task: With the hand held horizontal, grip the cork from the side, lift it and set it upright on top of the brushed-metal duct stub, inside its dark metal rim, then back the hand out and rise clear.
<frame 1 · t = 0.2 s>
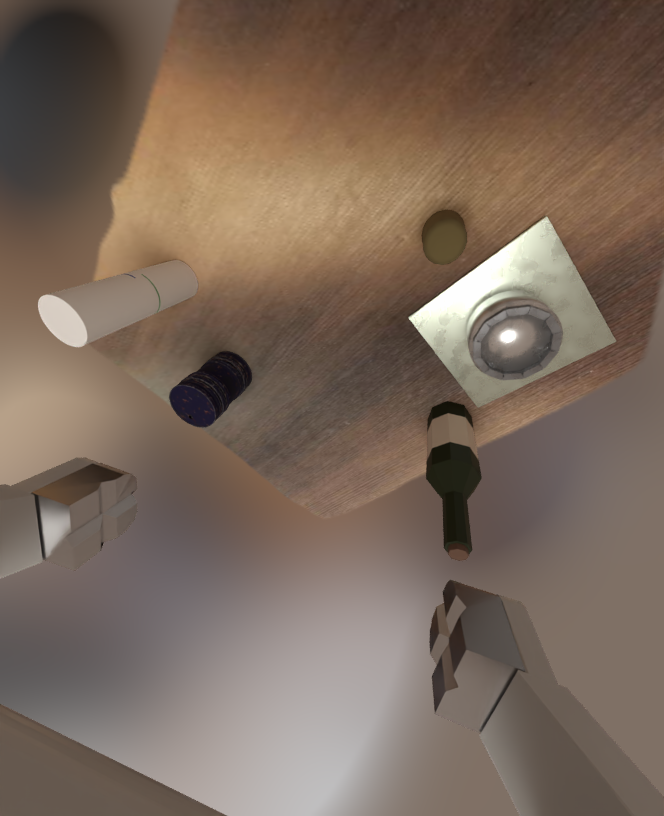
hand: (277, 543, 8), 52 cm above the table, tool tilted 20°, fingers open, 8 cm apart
cork: (442, 233, 47), on the table
wine bottle: (448, 417, 64), on the table
cylindrical container: (182, 279, 62), on the table
storage jar: (232, 370, 72), on the table
duct stub: (505, 326, 52), on the table
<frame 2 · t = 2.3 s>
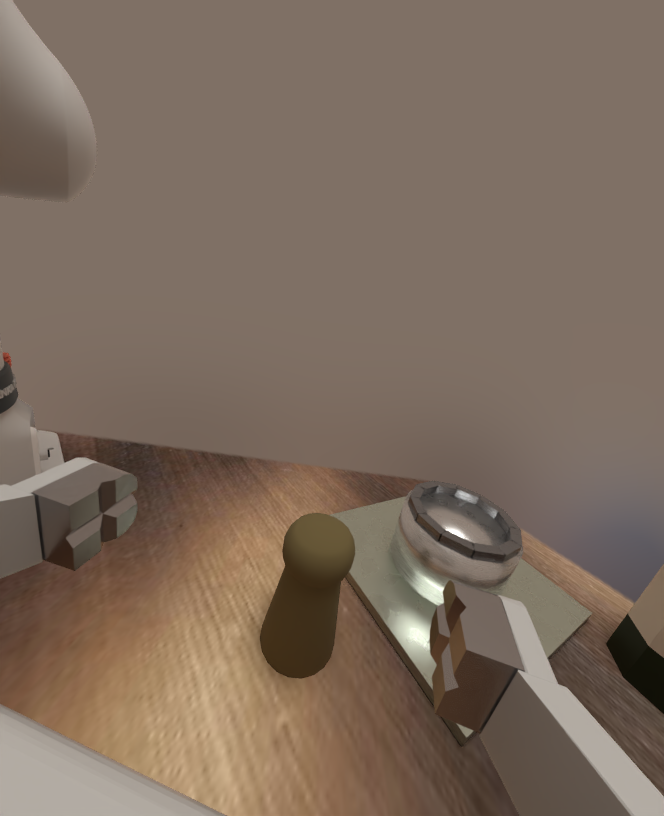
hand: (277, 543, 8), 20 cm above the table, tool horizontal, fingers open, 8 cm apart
cork: (297, 637, 26), on the table
wine bottle: (661, 680, 29), on the table
duct stub: (439, 569, 36), on the table
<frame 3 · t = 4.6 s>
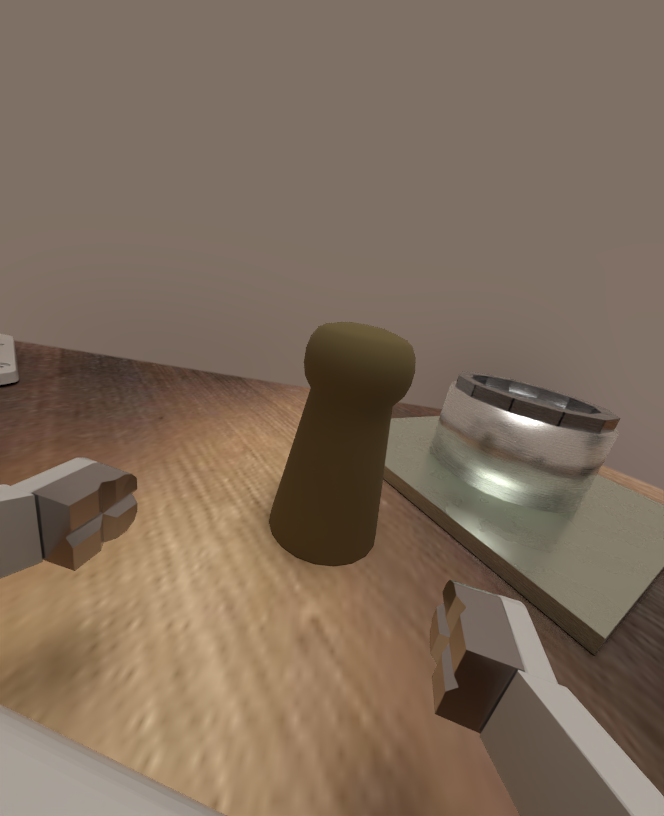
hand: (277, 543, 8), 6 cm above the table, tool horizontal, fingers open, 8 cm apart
cork: (322, 525, 18), on the table
duct stub: (495, 477, 28), on the table
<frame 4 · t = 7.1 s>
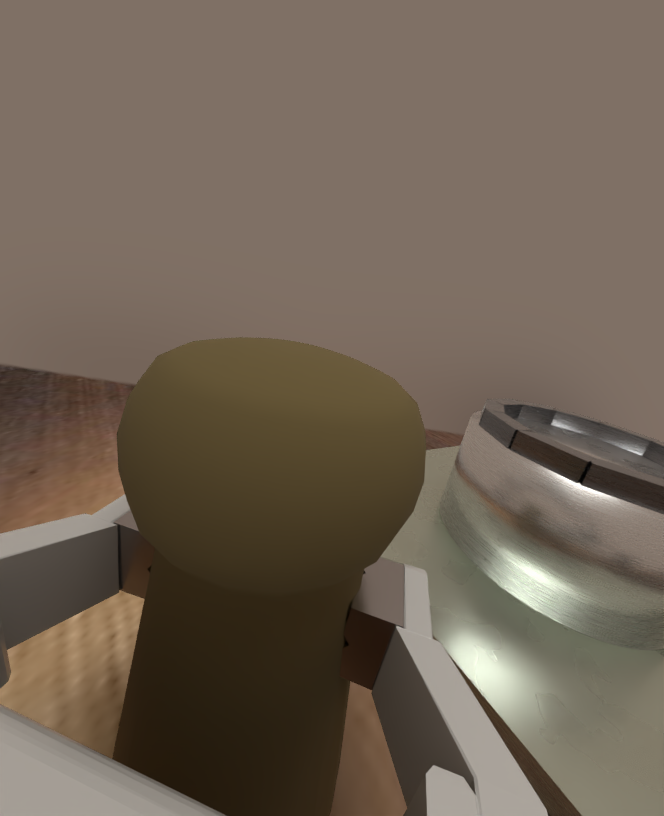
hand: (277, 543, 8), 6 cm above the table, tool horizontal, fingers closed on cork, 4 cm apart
cork: (234, 737, 9), on the table, touching gripper
duct stub: (535, 555, 19), on the table
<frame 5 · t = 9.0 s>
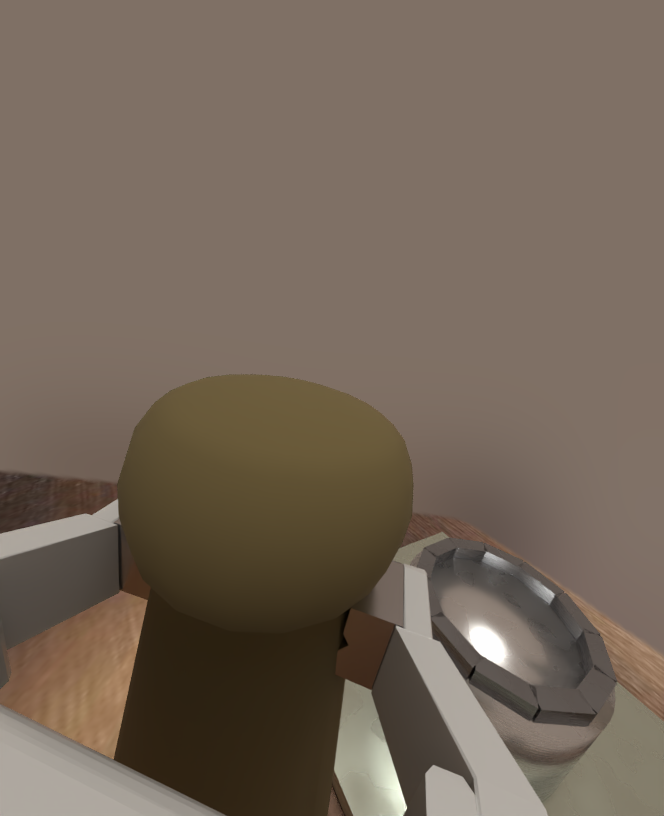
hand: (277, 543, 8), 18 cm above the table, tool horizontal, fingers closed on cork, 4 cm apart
cork: (230, 755, 9), point 11 cm above the table, touching gripper
duct stub: (462, 684, 22), on the table
when the fingers open (15 cm above the table, at t = 11.4 s): cork drops 1 cm, resting on duct stub.
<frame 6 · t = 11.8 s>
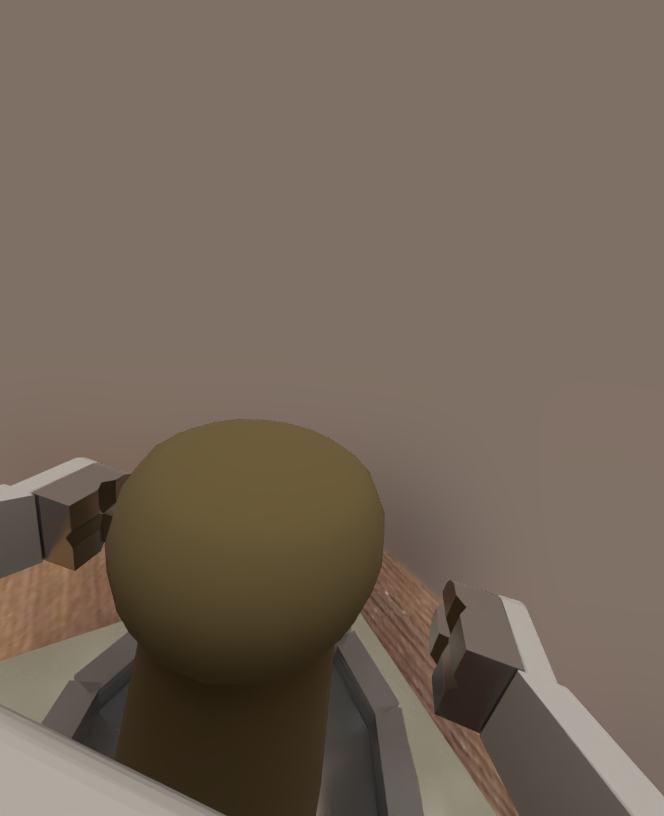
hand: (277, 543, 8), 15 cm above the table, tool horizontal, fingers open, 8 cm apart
cork: (222, 771, 10), point 7 cm above the table, touching duct stub
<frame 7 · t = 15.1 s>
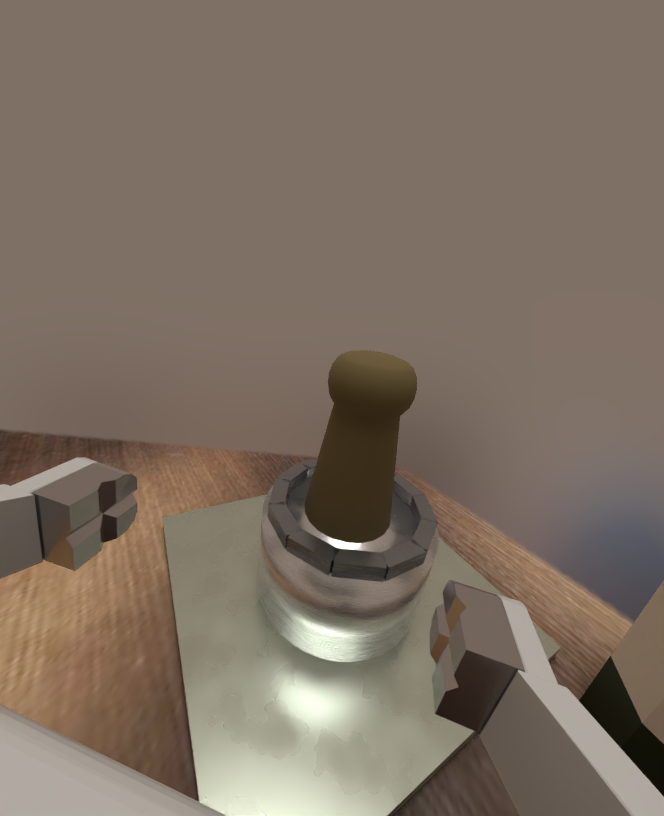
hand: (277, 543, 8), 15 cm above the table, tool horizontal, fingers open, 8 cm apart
cork: (347, 512, 22), point 7 cm above the table, touching duct stub
duct stub: (335, 584, 24), on the table
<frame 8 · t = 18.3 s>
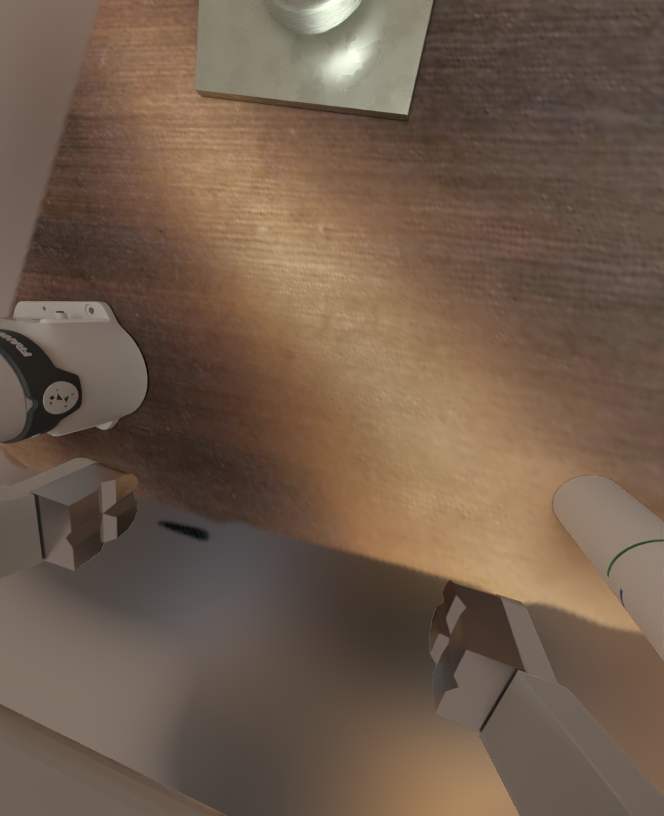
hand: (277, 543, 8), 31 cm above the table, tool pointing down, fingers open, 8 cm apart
cylindrical container: (586, 502, 36), on the table
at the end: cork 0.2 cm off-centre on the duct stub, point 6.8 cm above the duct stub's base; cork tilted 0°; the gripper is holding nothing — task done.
